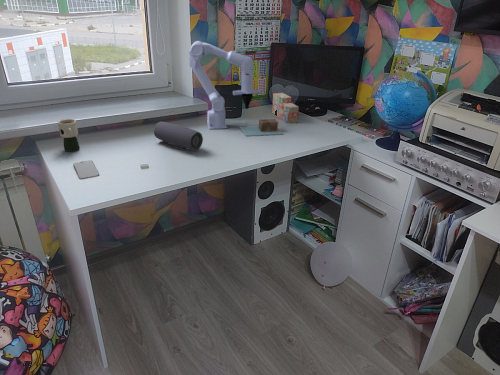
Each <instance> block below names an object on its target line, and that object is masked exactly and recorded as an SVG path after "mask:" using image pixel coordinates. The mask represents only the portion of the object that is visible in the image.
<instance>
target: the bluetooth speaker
mask: <svg viewBox="0 0 500 375" xmlns="http://www.w3.org/2000/svg"><path fill="white" fill-rule="evenodd" d="M153 134H154V137H155V138H156V139H158V140H159V141H162V142H164V143H167V144H169V146H172V147H175V148H177V149H180V150H192V151H197V150H199V149H200V148H201V147H202V145H203V142H204V138H203V135H202V133H201V132H200V131H198V130H195V129H192V128H189V127H187V126H183V125H179V124H176V123H172V122H166V121H159V122H157V123H156V124H155V126H154V130H153Z"/></svg>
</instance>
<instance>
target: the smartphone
mask: <svg viewBox="0 0 500 375" xmlns="http://www.w3.org/2000/svg"><path fill="white" fill-rule="evenodd" d="M73 167H74V170H75V172H76V174H77V176H78V179H79V180H85V179H86V180H87V179H91V178H95V177H96V178H97V177H100V173H99V170H98V169H97V167H96V165H95V164H94V161H93V160H85V161H83V160H82V161H79V162H77V161H76V162H73Z"/></svg>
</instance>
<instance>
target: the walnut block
mask: <svg viewBox="0 0 500 375" xmlns="http://www.w3.org/2000/svg"><path fill="white" fill-rule="evenodd" d="M258 126H259V130H260V131H261V132H270V131H278V129H279V121H278V120H277V119H276V118H271V119H270V118H269V119H267V118H266V119H259V120H258Z"/></svg>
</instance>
